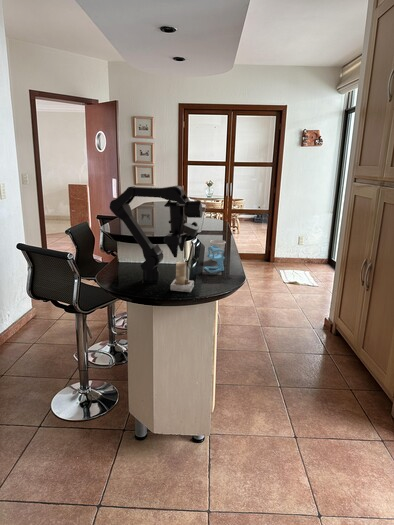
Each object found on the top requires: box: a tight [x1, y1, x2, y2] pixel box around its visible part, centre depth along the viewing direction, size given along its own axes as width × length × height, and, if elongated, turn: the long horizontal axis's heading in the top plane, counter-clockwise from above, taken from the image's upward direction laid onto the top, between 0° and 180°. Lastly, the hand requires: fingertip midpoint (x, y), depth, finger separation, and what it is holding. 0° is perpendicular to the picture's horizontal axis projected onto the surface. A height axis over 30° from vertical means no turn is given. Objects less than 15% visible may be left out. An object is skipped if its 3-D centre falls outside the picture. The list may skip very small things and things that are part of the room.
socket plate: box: [170, 278, 195, 293], centre depth 152 cm, size 8×7×2 cm
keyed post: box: [175, 261, 189, 285], centre depth 150 cm, size 5×4×11 cm
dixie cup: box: [209, 239, 227, 262], centre depth 193 cm, size 8×8×10 cm
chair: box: [204, 245, 226, 274], centre depth 175 cm, size 8×8×12 cm
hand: (178, 254), depth 154 cm, fingers open, 9 cm apart
